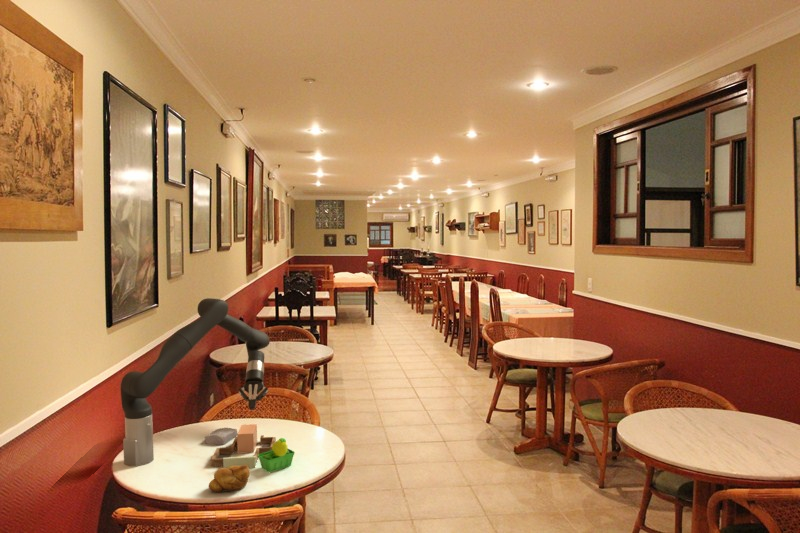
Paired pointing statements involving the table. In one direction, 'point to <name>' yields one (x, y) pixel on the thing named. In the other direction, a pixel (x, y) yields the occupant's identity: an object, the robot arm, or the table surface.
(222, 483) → the bread roll
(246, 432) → the terracotta brick
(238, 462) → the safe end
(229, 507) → the table surface
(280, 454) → the fruit basket
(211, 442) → the stone block
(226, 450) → the box
